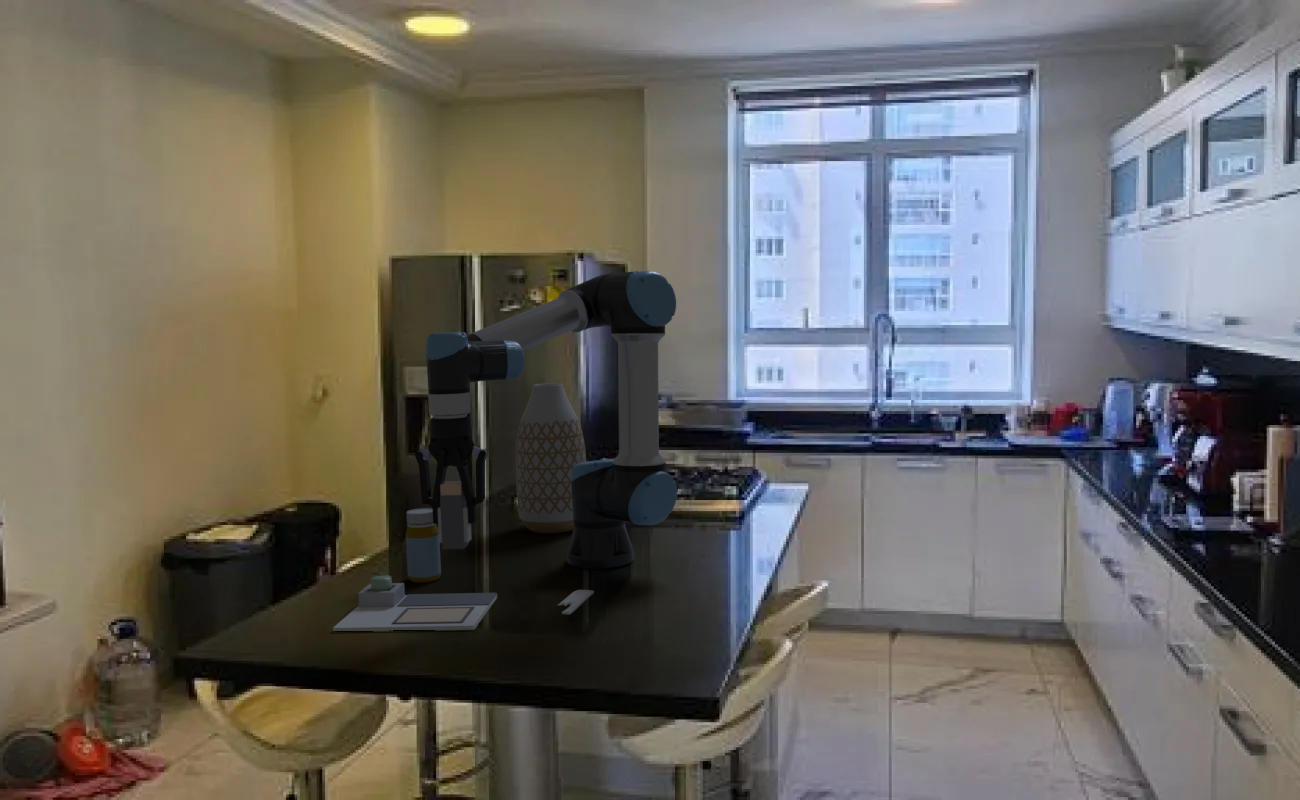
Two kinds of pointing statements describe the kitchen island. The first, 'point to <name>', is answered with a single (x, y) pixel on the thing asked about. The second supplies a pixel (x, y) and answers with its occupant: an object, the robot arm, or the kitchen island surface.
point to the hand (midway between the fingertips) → (455, 540)
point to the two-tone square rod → (452, 515)
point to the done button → (381, 583)
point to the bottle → (422, 546)
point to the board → (415, 611)
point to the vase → (547, 460)
